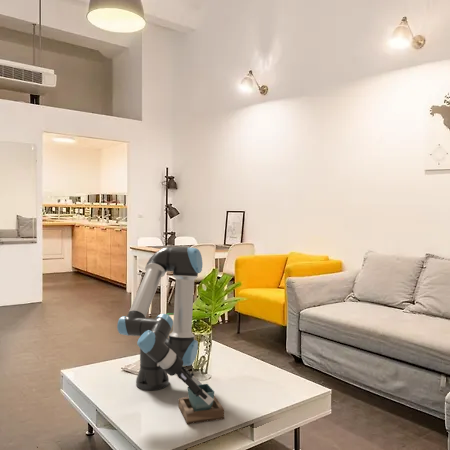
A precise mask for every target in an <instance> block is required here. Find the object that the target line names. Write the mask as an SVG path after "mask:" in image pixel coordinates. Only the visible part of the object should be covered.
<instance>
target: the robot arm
mask: <svg viewBox="0 0 450 450" xmlns="http://www.w3.org/2000/svg"><path fill="white" fill-rule="evenodd" d="M144 270H145V273H144V275H143V277H142V280H141V282H140V285H139V287H138V289H137V292H136V294H135V296H134V299H133V301H132V304H131V306H130V309H129V311H128V313H127V315H125V316H124V315H122V316H120V317H119V318H118V321H117V325H116V328H117V332H118V334H119V335H123V336H132V337H134V336H135V337H139V338H138V339H137V341H136V343H137V344H136V345H137V346H138V348H139V370H138V373H137V376H136V380H135V386H136V387H137V388H139V389H140V390H145V391H156V390H158V391H159V390H161V389H164V388H167V387H168V385H169V383H170V382H169V381H170V380H169V379H170V378H169V376H171V377H172V376H175V375H176V376H177V377H178V379H180V380H181V381H182V382H183V383H184V384H186V386H187V387H190V388H191V389H192V390H193V391H194V393H195V394H196V397H197V396H199V397H200V398H202V399H203V400H204V401H205V402H206V403H207V404H208V405H210V404H211V402H212V401H213V400H214V399H213V398H212V397H210V396H209V395H208V394H207V393H206V392H205V391H204V390H203V389H201V388H200V387H199V386H198V385H202V384H203V383H202V382H201V381H200V380H199V379H197V378H196V377H195V374H194V373H193V372H191V371H189V370H188V369H187V368H186V367H185V366H187V367H189V366H192V365H193V364H194V363H195V361H196V358H197V355H198V349H199V344H198V343H199V342H198V340H196V339H195V335H194V334H193V332H192V324H193V309H194V293H195V292H194V289H195V280H197V278H198V276H199V274H200V273H202V271H203V258H202V254H201V251H200V250H199V249H198V248H197V247H191V246H189V247H185V246H184V247H183V246H181V247H180V246H164V247H162V248H160V249H159V250H157V251H156V252H155V253H154V254H152V255H151V257H149V259H148V261H147V262H146V265H145V268H144ZM166 272H172V276H173V278H174V279H175V289H174V306H173V309H174V310H173V313H174V320H172V318H171V317H170V316H169V315H167V313H160V314H158V315H157V316H156V317H155V318H151V317H147V315H148V312H149V309H150V307H151V304H152V302H153V300H154V297H155V294H156V291H157V289H158V287H159V285H160V282H161V279H162V277H164V276H165V275H166ZM172 325H173V332H172V333H171V334H169V333H170V331H171V328H172ZM168 335H169V338H167V337H168Z"/></svg>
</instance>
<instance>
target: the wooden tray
mask: <svg viewBox="0 0 450 450" xmlns="http://www.w3.org/2000/svg"><path fill="white" fill-rule="evenodd" d="M178 409H179V412H180V414H181V415H182V417H183V419H184V421H185V424H186V425H193V424H200V423H201V424H202V423H207V422H214V421H222V420H225V408H224V407H223V405H222V404H221V403H220V401H219V400H218V398H217V397H216V396H215V395H214V400H213V404H212V407H211V409H210V410H202V411H194V410H193V408H192V406H191V404H190V401H189V396H185V397H179V398H178Z"/></svg>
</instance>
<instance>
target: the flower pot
mask: <svg viewBox="0 0 450 450" xmlns="http://www.w3.org/2000/svg"><path fill="white" fill-rule="evenodd" d="M198 386H199V387H200V388H201V389H203V390H204V391H205V392H206V393H207V394H208V395H209V396H210V397H212V398H213V399H214V396H215V391H214V389H213V388H212V387H211V386H210V385H209V384H208V383H202V385H198ZM187 397H189V401H190V404H191V406H192V408H193V410H194V411H202V410H210V409H211V407H212V404H213V401H212V402H211V404H210V405H208V404H207V403H206V402H205V401H204V400H203V399H202V398H200V397H199V396H197V397H196V394H195V393H194V391H193V390H192V389H191V388H190V387H189V386H187Z"/></svg>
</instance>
